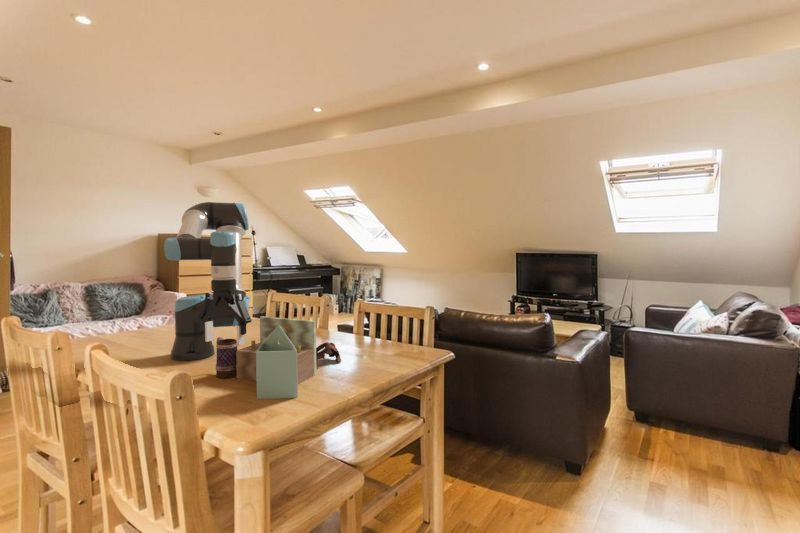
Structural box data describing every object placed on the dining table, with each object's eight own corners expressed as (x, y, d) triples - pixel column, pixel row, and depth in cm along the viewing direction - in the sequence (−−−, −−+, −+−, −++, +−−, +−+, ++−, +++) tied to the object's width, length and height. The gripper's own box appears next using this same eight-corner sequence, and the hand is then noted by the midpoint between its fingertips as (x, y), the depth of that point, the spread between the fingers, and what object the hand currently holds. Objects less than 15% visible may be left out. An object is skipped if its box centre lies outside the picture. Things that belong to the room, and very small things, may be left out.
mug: (242, 375, 138) (242, 339, 137) (220, 380, 133) (220, 343, 132) (230, 368, 145) (229, 334, 144) (209, 373, 140) (208, 337, 139)
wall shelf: (236, 377, 135) (235, 323, 134) (263, 366, 147) (262, 316, 146) (293, 386, 127) (292, 328, 126) (316, 374, 139) (315, 321, 138)
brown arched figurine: (340, 367, 149) (328, 348, 147) (318, 377, 151) (306, 359, 149) (346, 350, 160) (335, 333, 158) (325, 359, 162) (314, 342, 160)
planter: (241, 392, 123) (239, 325, 121) (264, 385, 129) (263, 321, 128) (274, 405, 113) (273, 333, 111) (298, 397, 119) (297, 328, 118)
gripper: (185, 278, 138) (187, 341, 139) (245, 280, 129) (246, 348, 130) (204, 276, 145) (205, 337, 146) (262, 278, 136) (263, 343, 137)
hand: (225, 342), depth 138 cm, fingers open, 13 cm apart
